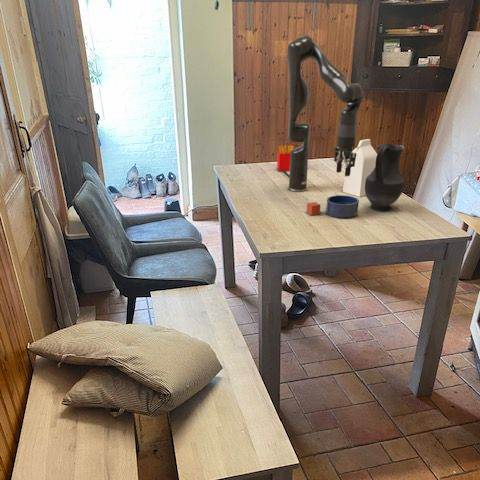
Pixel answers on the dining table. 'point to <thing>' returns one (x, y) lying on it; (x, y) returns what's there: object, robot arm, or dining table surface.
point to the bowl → (342, 206)
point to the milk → (360, 168)
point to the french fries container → (284, 158)
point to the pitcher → (385, 178)
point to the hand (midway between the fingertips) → (343, 174)
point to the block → (313, 208)
